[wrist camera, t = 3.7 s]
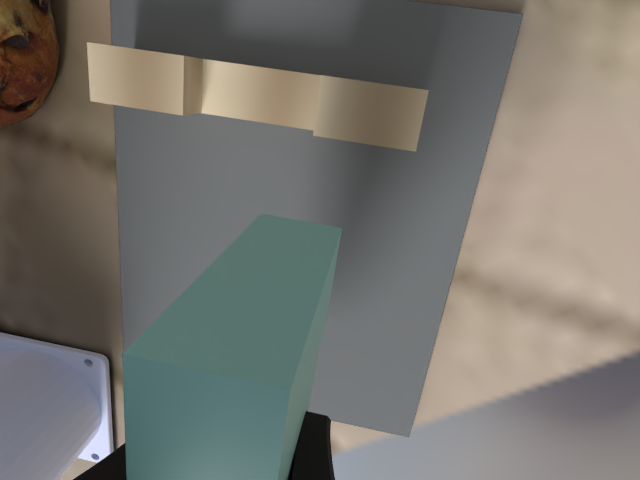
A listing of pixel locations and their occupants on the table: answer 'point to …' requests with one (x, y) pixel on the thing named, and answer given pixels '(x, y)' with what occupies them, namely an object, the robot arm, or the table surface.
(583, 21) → the table surface
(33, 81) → the bread roll
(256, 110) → the birch u-shaped block
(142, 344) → the teal board
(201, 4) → the mat
